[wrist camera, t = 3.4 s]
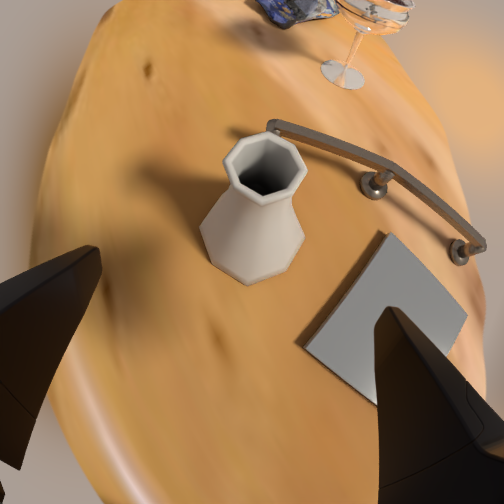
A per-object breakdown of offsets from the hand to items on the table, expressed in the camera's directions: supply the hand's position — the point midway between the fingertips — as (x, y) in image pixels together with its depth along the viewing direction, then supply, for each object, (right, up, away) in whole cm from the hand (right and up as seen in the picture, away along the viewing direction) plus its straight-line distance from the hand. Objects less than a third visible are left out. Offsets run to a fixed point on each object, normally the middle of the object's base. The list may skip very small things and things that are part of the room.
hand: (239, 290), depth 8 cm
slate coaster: (+12, -5, +11) cm, 17 cm away
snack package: (+7, +33, +20) cm, 39 cm away
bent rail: (+11, +5, +14) cm, 18 cm away
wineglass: (+10, +20, +17) cm, 28 cm away
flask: (0, +2, +13) cm, 13 cm away
